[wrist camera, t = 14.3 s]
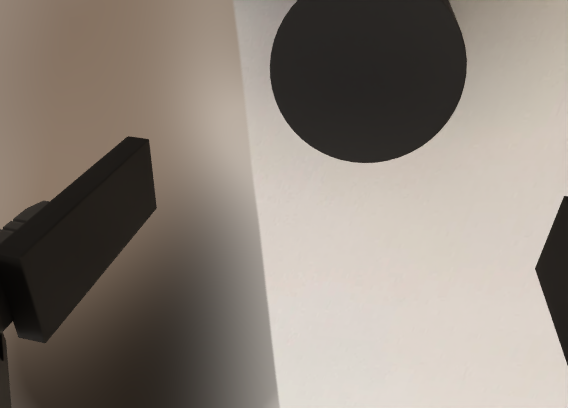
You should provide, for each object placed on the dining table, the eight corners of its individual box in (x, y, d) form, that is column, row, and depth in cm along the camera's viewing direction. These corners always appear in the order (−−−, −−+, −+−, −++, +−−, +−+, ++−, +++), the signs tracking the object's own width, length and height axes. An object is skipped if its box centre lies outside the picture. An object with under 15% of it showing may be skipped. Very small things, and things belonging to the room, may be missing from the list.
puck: (261, 67, 29) (236, 95, 25) (353, -82, 24) (342, -79, 20) (384, 154, 30) (380, 195, 26) (496, 28, 25) (513, 53, 21)
